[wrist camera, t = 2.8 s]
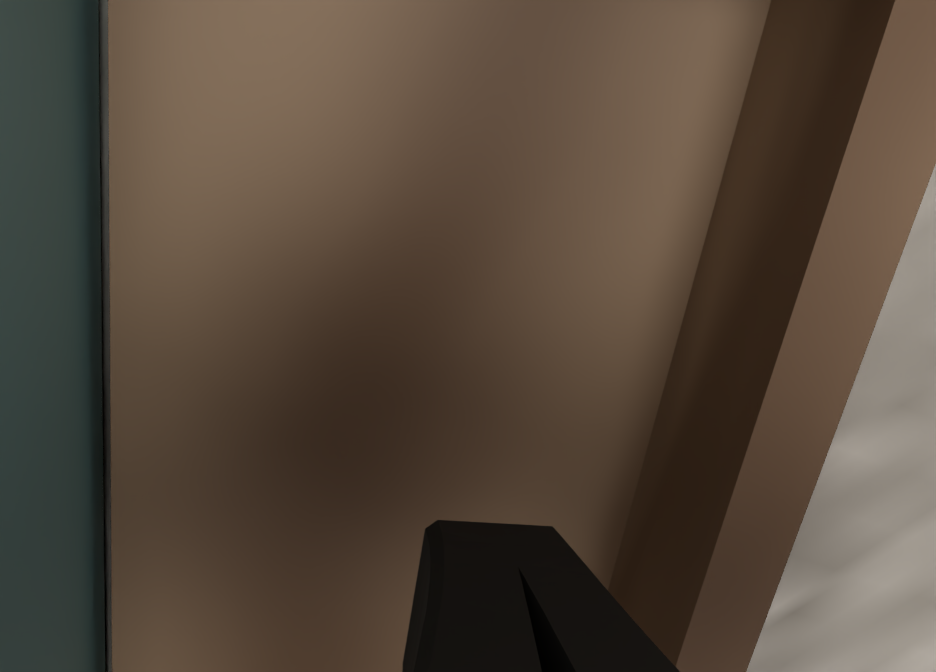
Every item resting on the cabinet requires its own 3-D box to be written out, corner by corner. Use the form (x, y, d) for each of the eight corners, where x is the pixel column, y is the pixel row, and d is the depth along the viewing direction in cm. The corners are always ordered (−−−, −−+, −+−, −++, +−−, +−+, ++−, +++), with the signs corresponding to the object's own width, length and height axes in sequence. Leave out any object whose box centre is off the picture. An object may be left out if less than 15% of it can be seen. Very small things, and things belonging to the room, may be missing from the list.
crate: (838, -99, 11) (1039, -116, 8) (587, 757, 17) (643, 946, 14) (-20, -271, 9) (-216, -384, 6) (35, 753, 15) (-48, 970, 12)
